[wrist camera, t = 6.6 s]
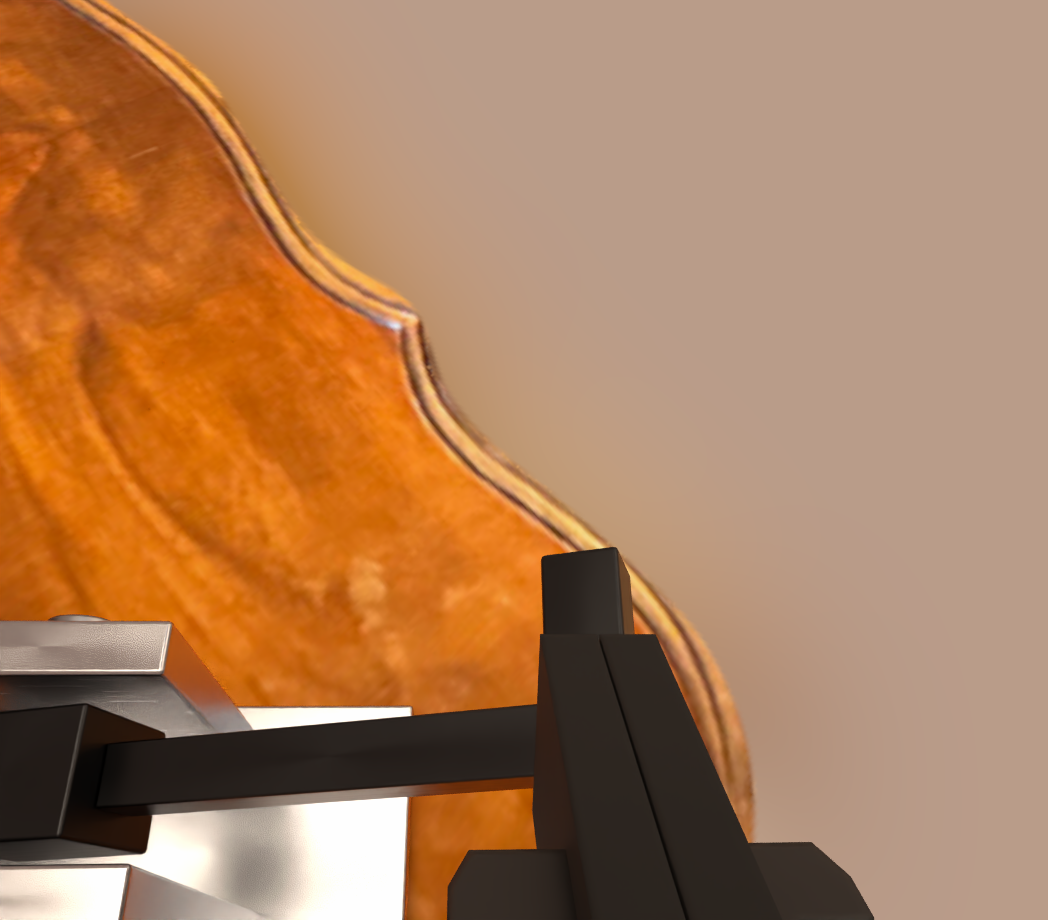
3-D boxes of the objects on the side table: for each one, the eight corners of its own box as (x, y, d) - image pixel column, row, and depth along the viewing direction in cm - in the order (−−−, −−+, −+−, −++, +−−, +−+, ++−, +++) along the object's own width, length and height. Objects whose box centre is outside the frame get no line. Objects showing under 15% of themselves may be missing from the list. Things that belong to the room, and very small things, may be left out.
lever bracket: (414, 714, 29) (391, 544, 18) (403, 1017, 25) (365, 1043, 14) (10, 716, 28) (-281, 537, 17) (-67, 1029, 24) (-513, 1067, 13)
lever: (635, 584, 17) (611, 531, 15) (666, 958, 14) (641, 954, 12) (65, 651, 20) (-22, 613, 18) (-8, 977, 17) (-123, 978, 15)
